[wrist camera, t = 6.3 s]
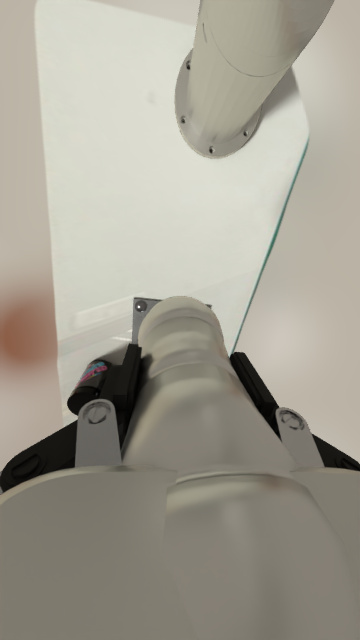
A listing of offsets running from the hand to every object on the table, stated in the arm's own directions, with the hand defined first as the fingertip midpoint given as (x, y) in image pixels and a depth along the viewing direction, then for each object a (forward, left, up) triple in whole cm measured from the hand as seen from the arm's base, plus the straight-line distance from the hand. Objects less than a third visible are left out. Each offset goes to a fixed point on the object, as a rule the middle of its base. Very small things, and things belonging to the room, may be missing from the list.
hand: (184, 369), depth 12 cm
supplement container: (+25, -14, -30) cm, 41 cm away
